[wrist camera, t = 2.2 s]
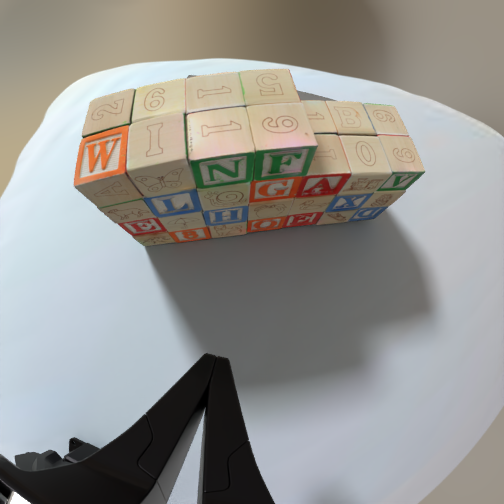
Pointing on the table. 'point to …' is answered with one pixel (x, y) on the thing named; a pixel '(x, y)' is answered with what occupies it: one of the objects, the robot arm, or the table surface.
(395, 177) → the stack of blocks
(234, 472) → the robot arm
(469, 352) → the table surface
